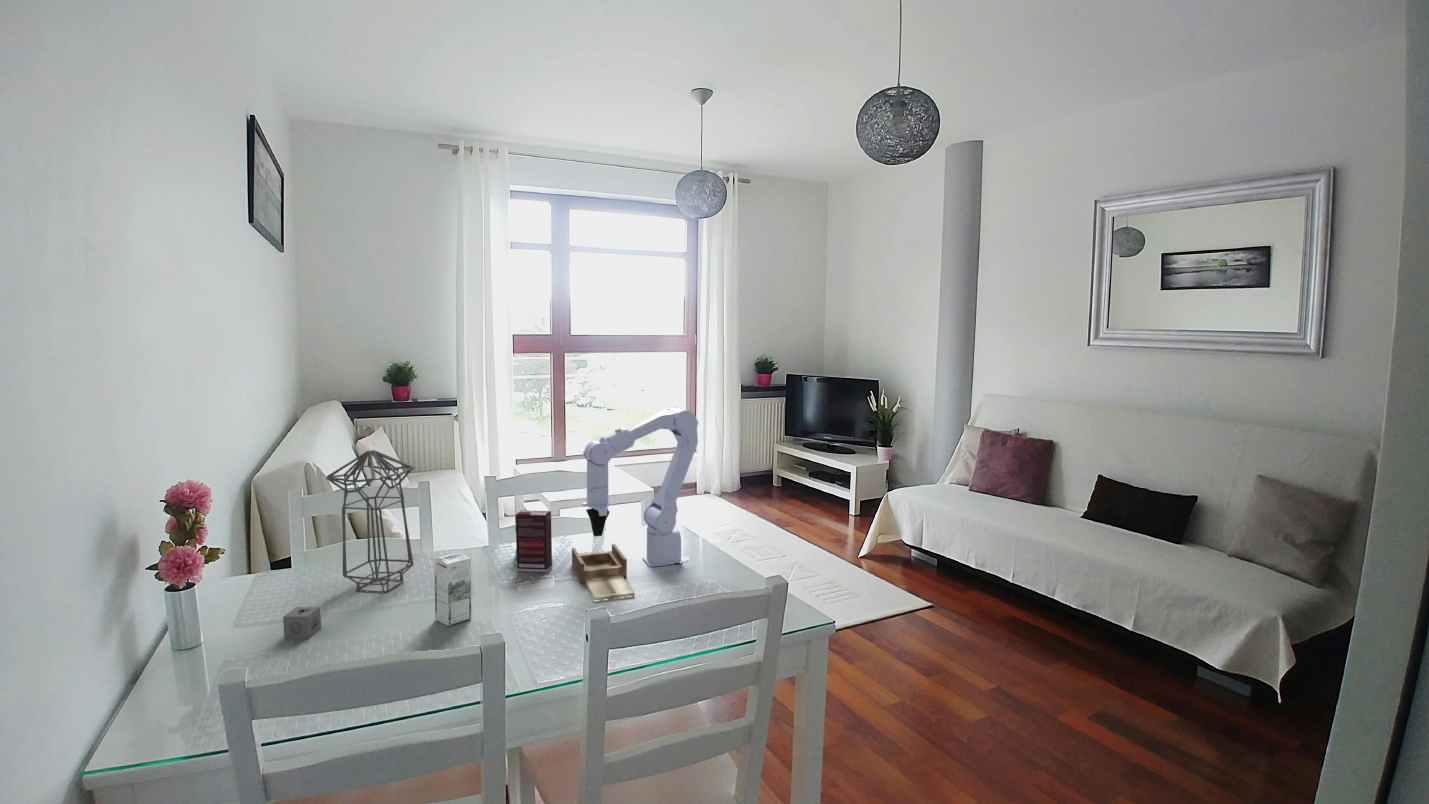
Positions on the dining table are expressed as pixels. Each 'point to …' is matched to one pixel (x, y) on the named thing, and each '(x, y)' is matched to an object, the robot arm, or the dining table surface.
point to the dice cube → (302, 623)
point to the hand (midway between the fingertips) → (597, 535)
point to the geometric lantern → (356, 467)
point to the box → (599, 564)
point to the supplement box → (533, 541)
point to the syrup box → (452, 589)
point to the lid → (609, 587)
